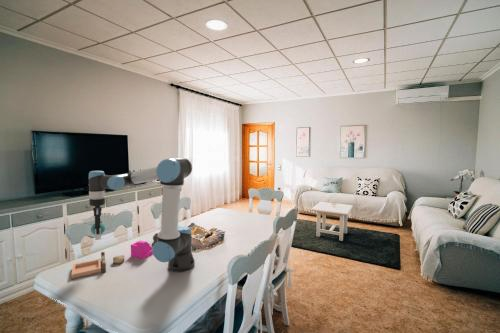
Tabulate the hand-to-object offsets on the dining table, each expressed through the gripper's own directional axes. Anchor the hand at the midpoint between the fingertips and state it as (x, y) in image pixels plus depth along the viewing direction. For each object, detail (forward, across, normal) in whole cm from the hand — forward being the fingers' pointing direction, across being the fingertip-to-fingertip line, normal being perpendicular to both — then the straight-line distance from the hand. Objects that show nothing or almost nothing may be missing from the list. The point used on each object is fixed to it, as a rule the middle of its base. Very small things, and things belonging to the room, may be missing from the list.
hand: (98, 237), depth 140 cm
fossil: (+18, +20, -38) cm, 47 cm away
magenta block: (+18, +6, -25) cm, 31 cm away
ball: (-5, 0, 0) cm, 5 cm away
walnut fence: (+18, 0, -2) cm, 18 cm away
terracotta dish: (+18, -2, +6) cm, 19 cm away
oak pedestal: (+18, +1, -10) cm, 21 cm away
